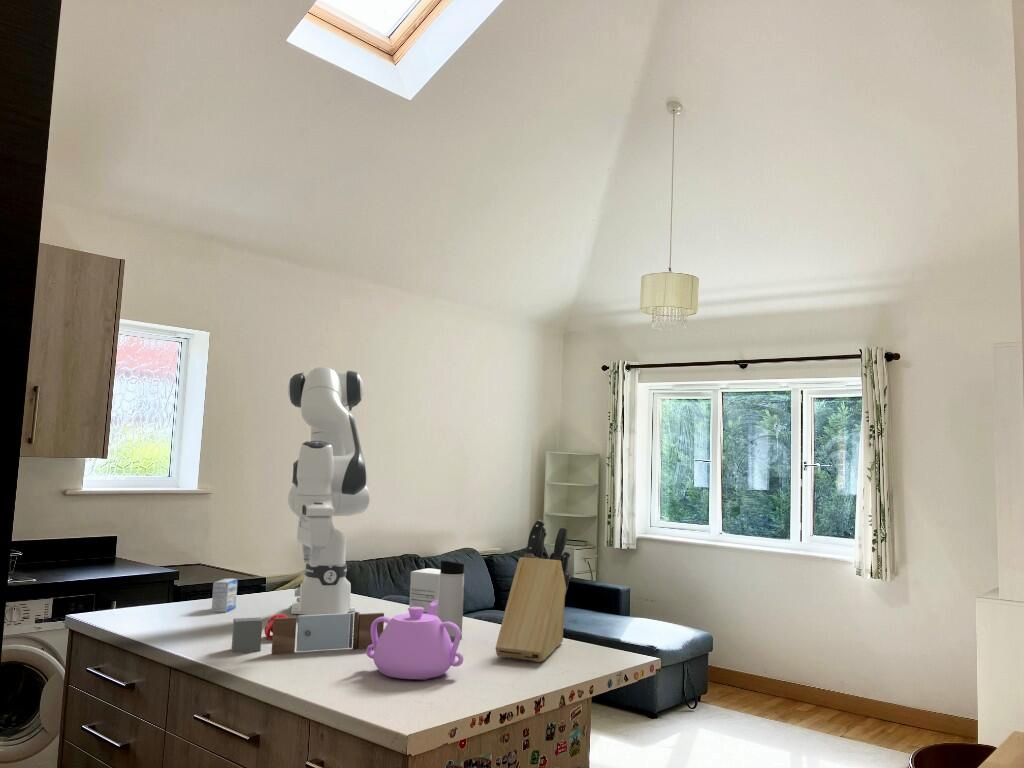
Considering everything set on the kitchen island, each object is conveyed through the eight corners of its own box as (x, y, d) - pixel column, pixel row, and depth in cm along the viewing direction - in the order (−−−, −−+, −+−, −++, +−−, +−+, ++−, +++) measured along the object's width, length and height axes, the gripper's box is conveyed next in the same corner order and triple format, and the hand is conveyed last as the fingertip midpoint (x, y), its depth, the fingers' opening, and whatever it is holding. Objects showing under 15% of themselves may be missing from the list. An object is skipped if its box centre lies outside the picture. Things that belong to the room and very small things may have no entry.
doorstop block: (231, 649, 187) (233, 618, 188) (258, 647, 190) (259, 617, 191) (233, 652, 184) (235, 621, 185) (260, 651, 186) (262, 620, 187)
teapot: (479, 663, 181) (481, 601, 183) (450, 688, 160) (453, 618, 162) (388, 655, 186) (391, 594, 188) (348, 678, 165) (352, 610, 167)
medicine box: (226, 613, 231) (228, 582, 232) (210, 612, 231) (213, 581, 232) (236, 608, 239) (238, 578, 240) (221, 607, 239) (223, 578, 240)
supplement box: (424, 620, 229) (426, 567, 230) (451, 624, 225) (453, 570, 226) (407, 626, 221) (409, 570, 222) (435, 629, 217) (437, 573, 218)
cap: (295, 627, 198) (297, 611, 203) (272, 620, 196) (275, 604, 201) (282, 650, 201) (285, 633, 206) (259, 643, 199) (262, 626, 204)
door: (351, 647, 192) (353, 612, 193) (353, 649, 190) (355, 614, 191) (296, 650, 186) (298, 615, 187) (298, 652, 184) (300, 617, 185)
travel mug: (431, 638, 206) (434, 559, 208) (450, 635, 211) (453, 557, 213) (447, 642, 202) (451, 562, 204) (466, 639, 206) (469, 560, 208)
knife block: (571, 636, 214) (574, 519, 217) (541, 666, 180) (545, 527, 184) (531, 632, 217) (534, 517, 220) (493, 661, 183) (498, 525, 187)
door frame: (271, 653, 184) (273, 615, 185) (381, 646, 195) (382, 610, 196) (272, 654, 183) (274, 616, 184) (382, 647, 194) (384, 611, 195)
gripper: (292, 504, 204) (289, 560, 202) (308, 509, 185) (305, 570, 184) (317, 505, 206) (314, 559, 205) (335, 509, 188) (332, 569, 186)
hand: (310, 564), depth 194 cm, fingers open, 7 cm apart
